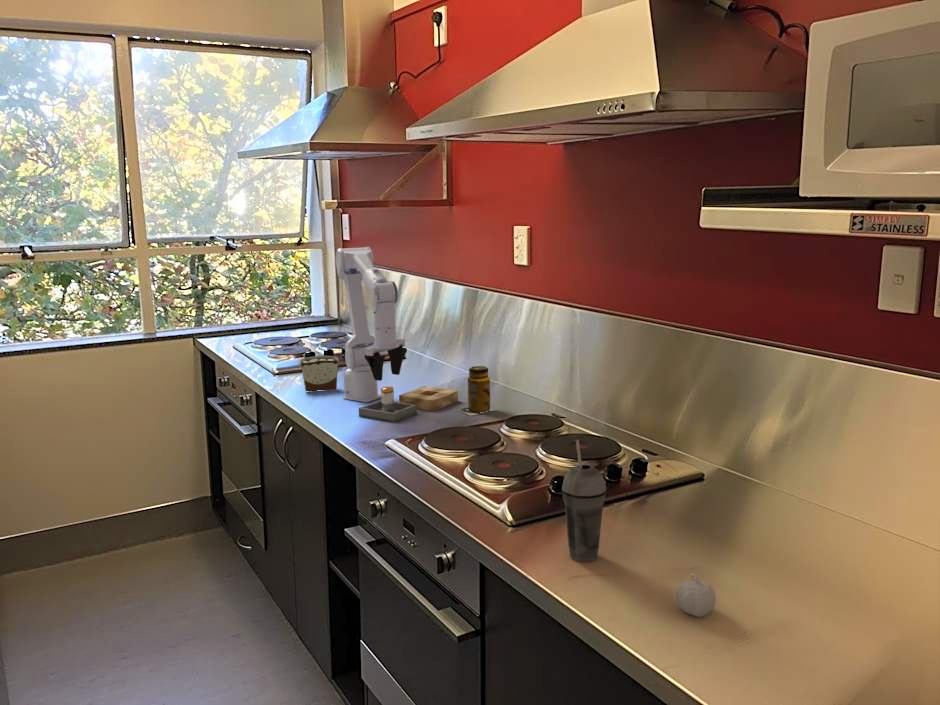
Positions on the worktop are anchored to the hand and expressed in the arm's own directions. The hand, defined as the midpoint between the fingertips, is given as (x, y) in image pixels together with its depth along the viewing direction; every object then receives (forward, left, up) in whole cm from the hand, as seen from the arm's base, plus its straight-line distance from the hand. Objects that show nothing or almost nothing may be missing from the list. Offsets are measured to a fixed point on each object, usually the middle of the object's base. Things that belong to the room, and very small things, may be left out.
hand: (387, 377), depth 217 cm
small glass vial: (0, -1, -10) cm, 10 cm away
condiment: (+19, +14, -11) cm, 26 cm away
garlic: (+103, -61, -11) cm, 120 cm away
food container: (-37, +12, -11) cm, 40 cm away
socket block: (+3, +14, -10) cm, 18 cm away
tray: (0, -1, -10) cm, 10 cm away
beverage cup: (+82, -53, -11) cm, 98 cm away
